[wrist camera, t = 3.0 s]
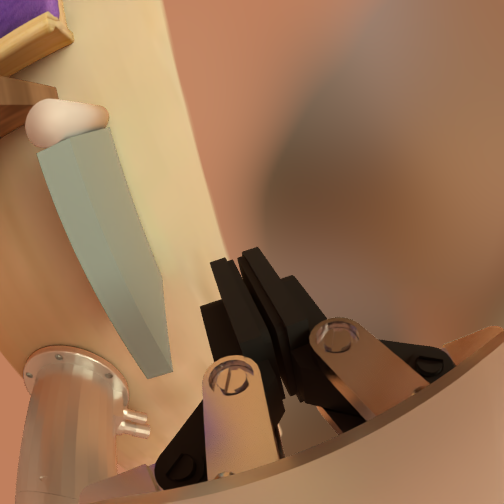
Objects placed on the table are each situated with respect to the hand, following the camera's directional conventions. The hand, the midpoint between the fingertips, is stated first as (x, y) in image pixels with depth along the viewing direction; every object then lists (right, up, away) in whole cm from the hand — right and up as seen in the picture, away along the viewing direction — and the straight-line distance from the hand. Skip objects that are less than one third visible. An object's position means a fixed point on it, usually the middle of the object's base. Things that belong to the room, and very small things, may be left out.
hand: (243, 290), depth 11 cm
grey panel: (-10, +5, +11) cm, 16 cm away
